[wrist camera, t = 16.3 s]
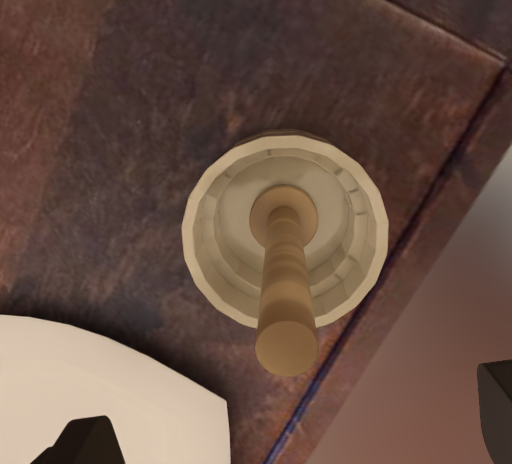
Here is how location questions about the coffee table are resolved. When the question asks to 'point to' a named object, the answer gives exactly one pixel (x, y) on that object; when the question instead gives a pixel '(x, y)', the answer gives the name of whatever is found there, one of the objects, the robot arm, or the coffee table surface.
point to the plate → (101, 396)
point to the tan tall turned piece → (285, 280)
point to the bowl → (316, 251)
